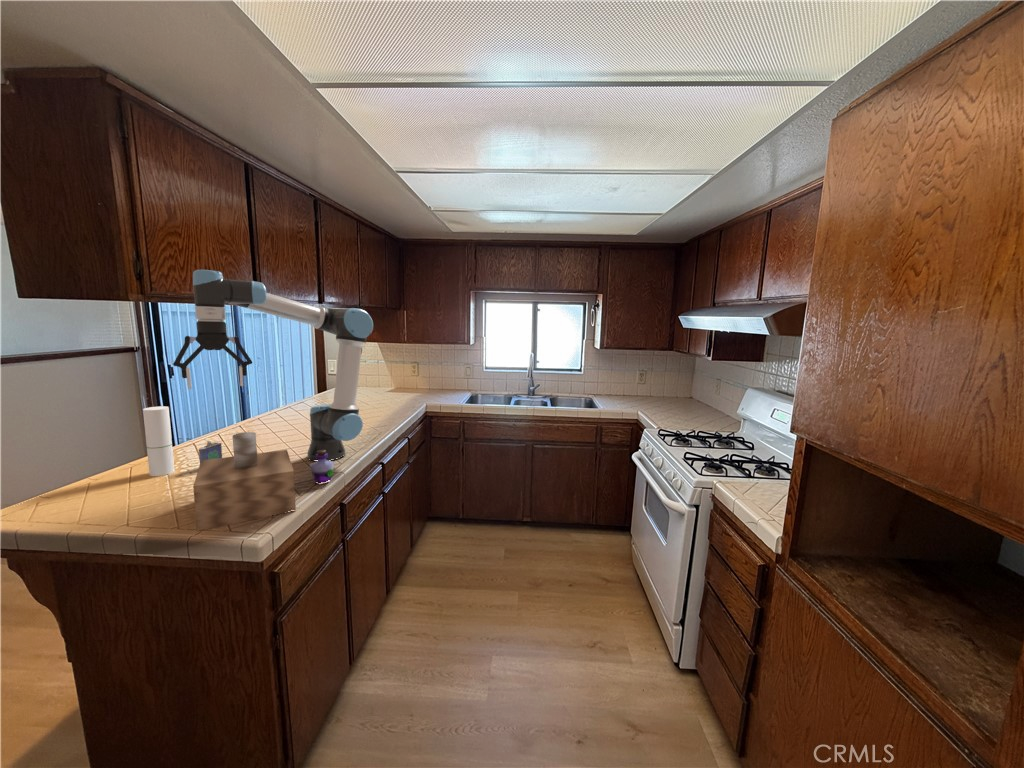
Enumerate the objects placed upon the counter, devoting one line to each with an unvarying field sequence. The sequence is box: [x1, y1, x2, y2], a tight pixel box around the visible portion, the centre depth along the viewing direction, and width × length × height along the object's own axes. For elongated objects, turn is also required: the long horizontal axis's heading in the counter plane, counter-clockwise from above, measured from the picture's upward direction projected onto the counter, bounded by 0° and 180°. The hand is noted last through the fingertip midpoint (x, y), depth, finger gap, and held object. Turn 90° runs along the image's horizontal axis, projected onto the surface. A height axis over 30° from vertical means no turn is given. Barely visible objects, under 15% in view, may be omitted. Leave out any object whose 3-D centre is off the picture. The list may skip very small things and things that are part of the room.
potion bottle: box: [309, 450, 335, 483], centre depth 146 cm, size 9×9×12 cm
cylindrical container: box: [142, 405, 176, 477], centre depth 149 cm, size 7×7×25 cm
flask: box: [198, 440, 223, 464], centre depth 158 cm, size 9×3×11 cm, turn 172°
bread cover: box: [193, 431, 297, 532], centre depth 126 cm, size 24×24×23 cm
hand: (216, 387), depth 129 cm, fingers open, 13 cm apart
